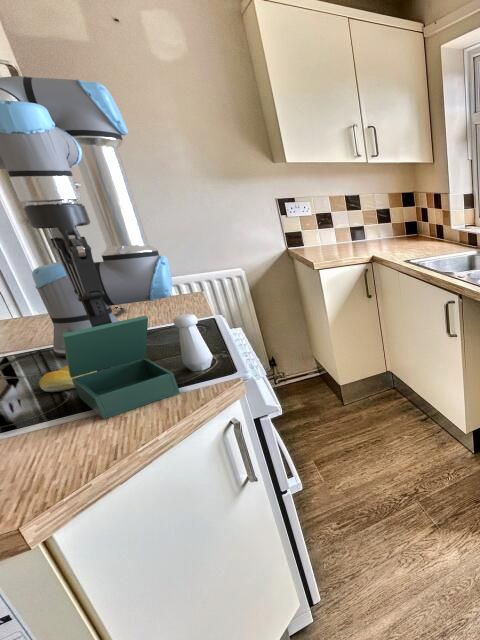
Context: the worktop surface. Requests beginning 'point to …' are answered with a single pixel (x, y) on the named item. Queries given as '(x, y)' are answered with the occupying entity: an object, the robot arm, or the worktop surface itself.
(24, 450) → the worktop surface
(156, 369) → the box
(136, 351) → the box lid
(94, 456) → the worktop surface
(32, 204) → the robot arm
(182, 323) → the salt shaker
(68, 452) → the worktop surface
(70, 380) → the yellow rounded piece
